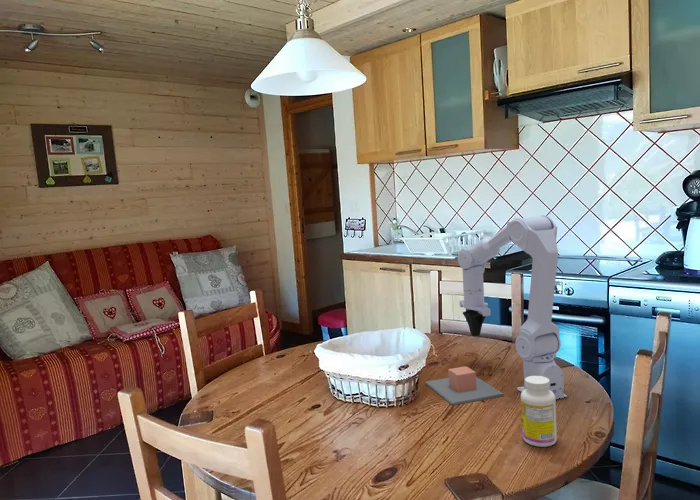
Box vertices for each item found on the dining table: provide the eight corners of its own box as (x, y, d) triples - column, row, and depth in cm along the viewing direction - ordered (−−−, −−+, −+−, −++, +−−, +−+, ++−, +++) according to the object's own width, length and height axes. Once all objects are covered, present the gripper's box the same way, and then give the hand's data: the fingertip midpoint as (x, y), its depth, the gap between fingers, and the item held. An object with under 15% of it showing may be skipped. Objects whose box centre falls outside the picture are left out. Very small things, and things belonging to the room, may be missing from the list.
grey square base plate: (503, 395, 129) (502, 381, 128) (452, 405, 125) (451, 391, 125) (471, 375, 144) (471, 363, 144) (425, 383, 141) (424, 371, 140)
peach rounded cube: (476, 389, 133) (475, 372, 132) (458, 392, 131) (457, 375, 131) (466, 382, 138) (466, 366, 137) (449, 385, 136) (448, 369, 136)
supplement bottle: (529, 430, 110) (527, 371, 109) (561, 437, 106) (559, 376, 104) (517, 442, 105) (514, 381, 103) (550, 451, 100) (548, 387, 99)
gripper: (499, 291, 143) (501, 339, 144) (473, 284, 157) (475, 328, 158) (476, 294, 141) (478, 343, 143) (452, 287, 155) (454, 331, 156)
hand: (475, 335), depth 150 cm, fingers closed
